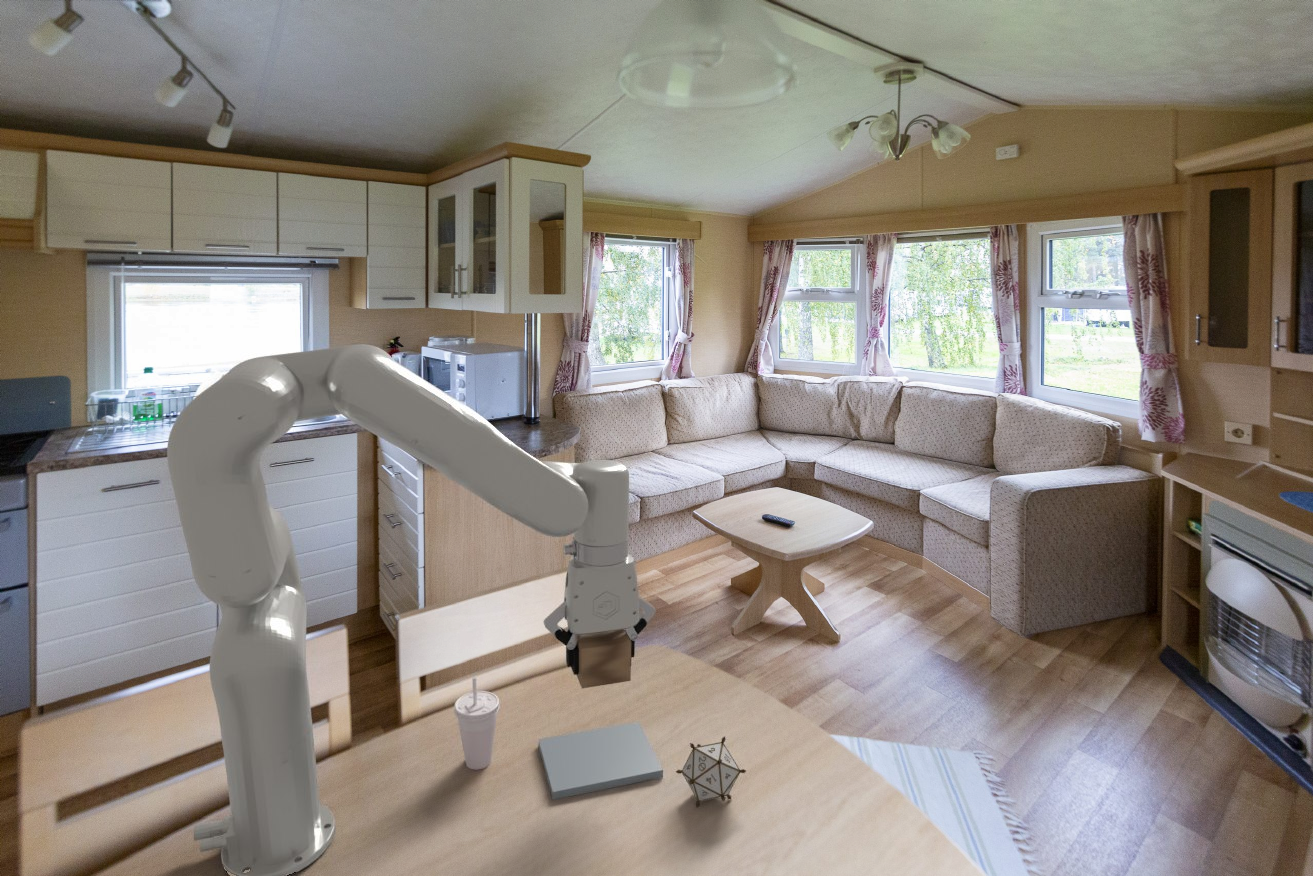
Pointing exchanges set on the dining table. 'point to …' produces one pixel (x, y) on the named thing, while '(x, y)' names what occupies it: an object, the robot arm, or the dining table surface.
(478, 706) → the smoothie
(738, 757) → the dining table surface
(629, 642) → the walnut block
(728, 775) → the game die
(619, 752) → the plate
